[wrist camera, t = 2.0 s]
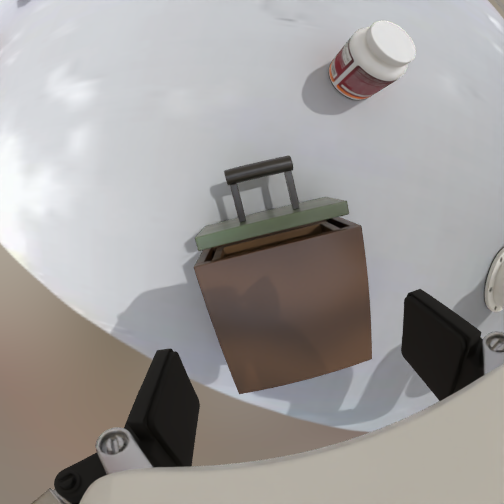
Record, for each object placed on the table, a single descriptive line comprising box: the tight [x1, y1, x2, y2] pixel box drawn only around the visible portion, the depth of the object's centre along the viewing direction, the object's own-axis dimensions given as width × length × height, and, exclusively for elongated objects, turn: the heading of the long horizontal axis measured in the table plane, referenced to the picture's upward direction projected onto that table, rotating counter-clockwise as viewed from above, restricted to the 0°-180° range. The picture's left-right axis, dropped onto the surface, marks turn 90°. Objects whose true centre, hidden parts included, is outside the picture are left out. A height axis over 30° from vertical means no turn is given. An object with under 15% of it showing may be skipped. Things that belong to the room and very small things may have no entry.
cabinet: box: [194, 217, 372, 394], centre depth 28 cm, size 15×15×8 cm
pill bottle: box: [329, 20, 416, 100], centre depth 21 cm, size 6×6×11 cm
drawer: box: [195, 156, 349, 260], centre depth 27 cm, size 18×13×6 cm
